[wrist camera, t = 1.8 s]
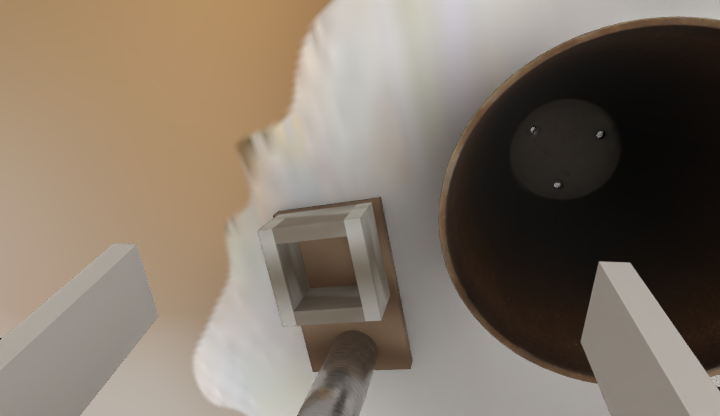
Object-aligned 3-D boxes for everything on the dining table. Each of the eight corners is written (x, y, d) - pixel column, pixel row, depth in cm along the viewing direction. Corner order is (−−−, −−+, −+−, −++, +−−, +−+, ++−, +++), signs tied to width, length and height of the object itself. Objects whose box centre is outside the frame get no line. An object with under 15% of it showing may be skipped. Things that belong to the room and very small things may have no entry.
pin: (382, 369, 40) (346, 488, 29) (338, 371, 41) (288, 485, 30) (373, 329, 39) (333, 435, 28) (329, 331, 40) (273, 434, 29)
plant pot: (562, 287, 35) (626, 448, 21) (413, 164, 35) (368, 236, 20) (735, 137, 30) (994, 208, 15) (559, -9, 30) (644, -83, 15)
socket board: (412, 360, 40) (404, 400, 36) (317, 363, 43) (297, 401, 38) (380, 197, 37) (366, 217, 32) (278, 211, 39) (251, 231, 34)
